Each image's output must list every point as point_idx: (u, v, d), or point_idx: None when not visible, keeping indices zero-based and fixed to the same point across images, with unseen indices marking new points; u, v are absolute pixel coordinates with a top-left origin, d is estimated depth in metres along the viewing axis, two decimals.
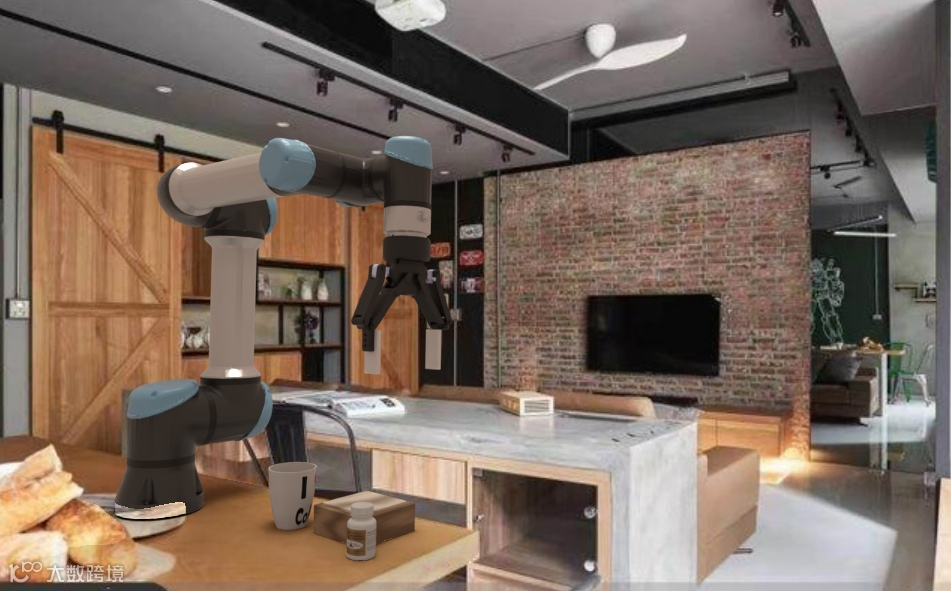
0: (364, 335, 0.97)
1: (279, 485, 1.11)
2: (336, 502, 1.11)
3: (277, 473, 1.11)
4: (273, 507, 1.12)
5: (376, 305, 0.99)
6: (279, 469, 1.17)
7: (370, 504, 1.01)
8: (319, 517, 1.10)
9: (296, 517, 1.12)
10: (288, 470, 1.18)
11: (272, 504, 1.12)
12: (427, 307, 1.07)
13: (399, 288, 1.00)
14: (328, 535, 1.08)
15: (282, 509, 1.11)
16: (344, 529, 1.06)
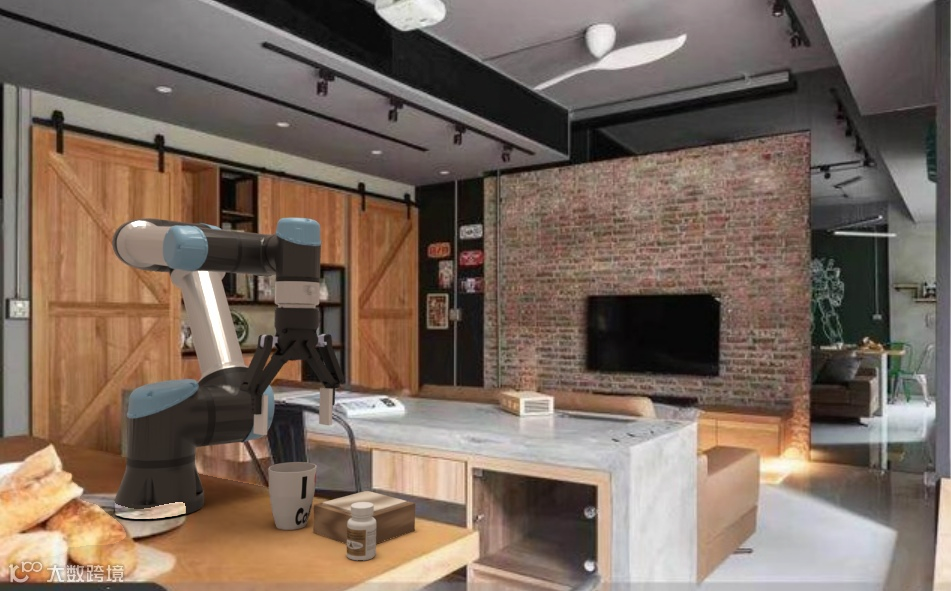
0: (252, 400, 1.08)
1: (279, 485, 1.11)
2: (336, 502, 1.11)
3: (277, 473, 1.11)
4: (273, 507, 1.12)
5: (265, 371, 1.10)
6: (279, 469, 1.17)
7: (370, 504, 1.01)
8: (319, 517, 1.10)
9: (296, 517, 1.12)
10: (288, 470, 1.18)
11: (272, 504, 1.12)
12: (318, 369, 1.18)
13: (286, 355, 1.11)
14: (328, 535, 1.08)
15: (282, 509, 1.11)
16: (344, 529, 1.06)
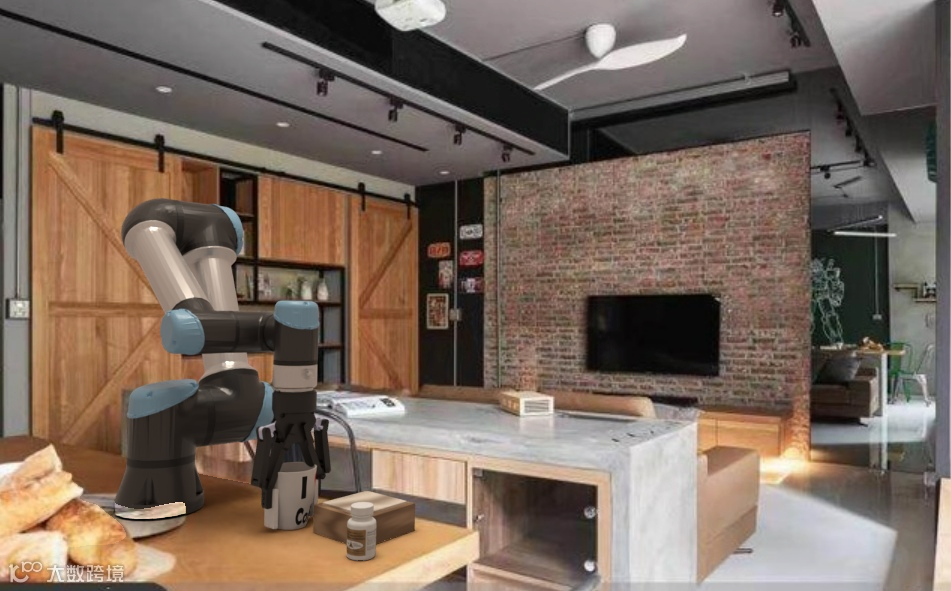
0: (263, 494, 1.10)
1: (279, 485, 1.11)
2: (336, 502, 1.11)
3: None
4: None
5: (270, 463, 1.11)
6: None
7: (370, 504, 1.01)
8: (319, 517, 1.10)
9: (296, 517, 1.12)
10: (288, 470, 1.18)
11: None
12: (309, 454, 1.16)
13: (287, 443, 1.12)
14: (328, 535, 1.08)
15: (282, 509, 1.11)
16: (344, 529, 1.06)
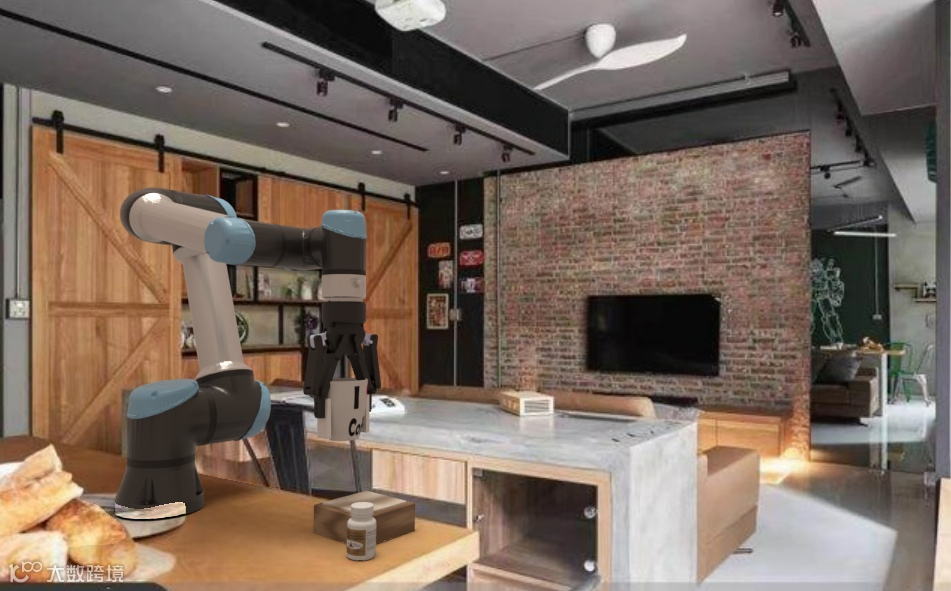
0: (315, 403, 1.08)
1: (331, 395, 1.09)
2: (336, 502, 1.11)
3: None
4: None
5: (322, 373, 1.10)
6: None
7: (370, 504, 1.01)
8: (319, 517, 1.10)
9: (349, 428, 1.10)
10: None
11: None
12: (359, 368, 1.14)
13: (338, 353, 1.10)
14: (328, 535, 1.08)
15: (334, 419, 1.09)
16: (344, 529, 1.06)
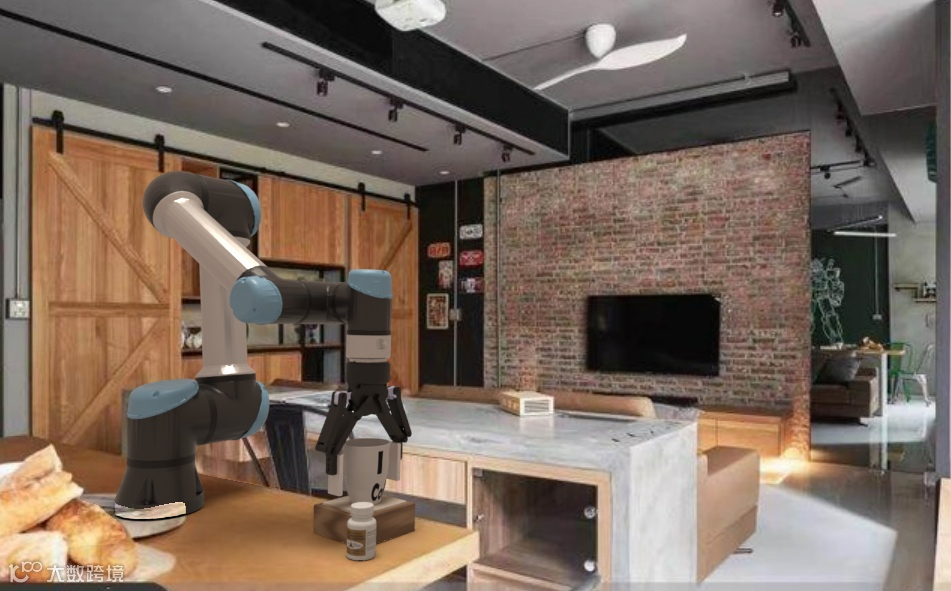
0: (327, 460, 1.06)
1: (355, 460, 1.08)
2: (336, 502, 1.11)
3: (353, 447, 1.08)
4: (348, 483, 1.09)
5: (339, 429, 1.08)
6: (351, 445, 1.14)
7: (370, 504, 1.01)
8: (319, 517, 1.10)
9: (372, 493, 1.09)
10: (359, 446, 1.15)
11: (347, 480, 1.10)
12: (388, 423, 1.15)
13: (360, 412, 1.09)
14: (328, 535, 1.08)
15: (358, 484, 1.09)
16: (344, 529, 1.06)
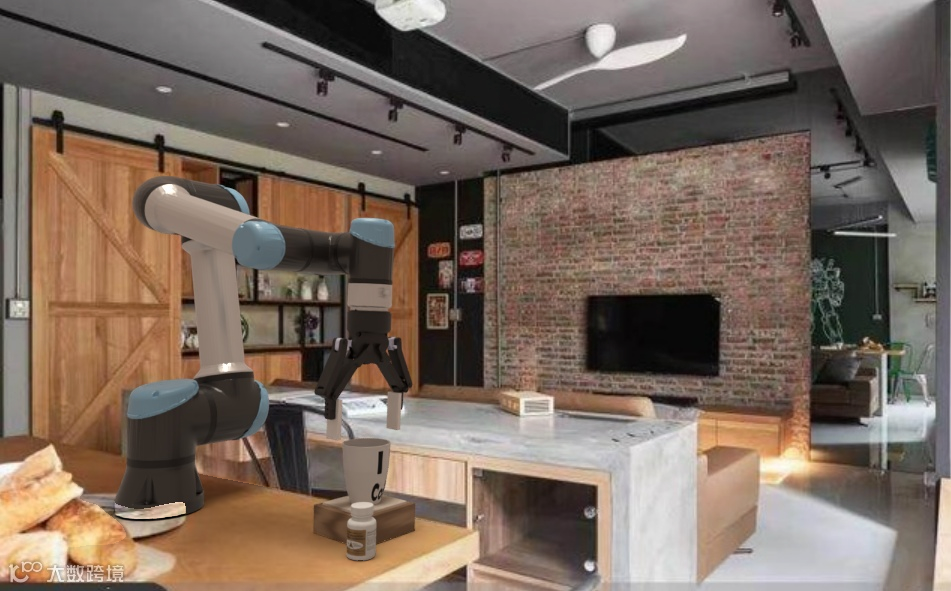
0: (326, 404, 1.06)
1: (355, 460, 1.08)
2: (336, 502, 1.11)
3: (353, 447, 1.08)
4: (348, 483, 1.09)
5: (338, 375, 1.08)
6: (351, 445, 1.14)
7: (370, 504, 1.01)
8: (319, 517, 1.10)
9: (372, 493, 1.09)
10: (359, 446, 1.15)
11: (347, 480, 1.10)
12: (388, 372, 1.16)
13: (360, 359, 1.09)
14: (328, 535, 1.08)
15: (358, 484, 1.09)
16: (344, 529, 1.06)
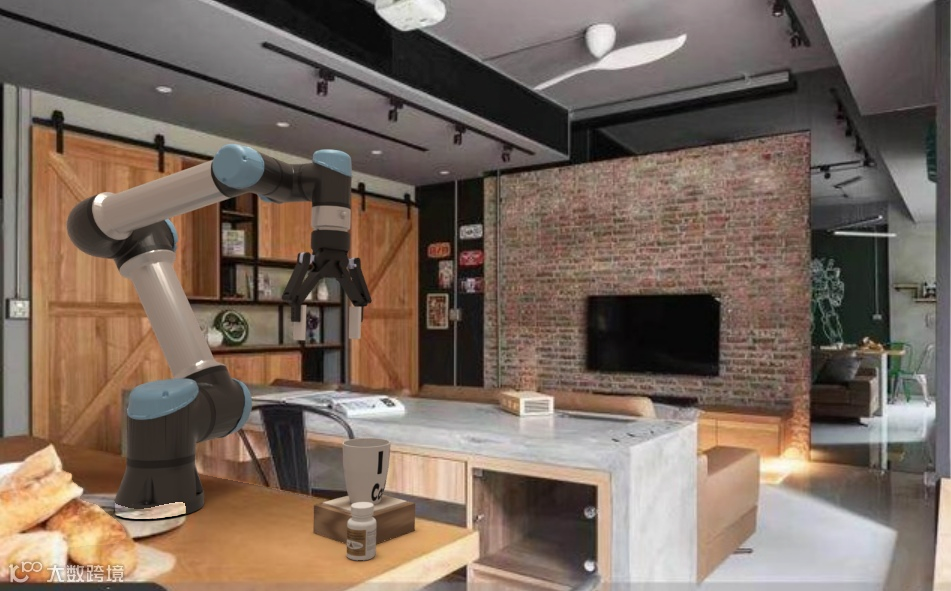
0: (292, 309, 1.22)
1: (355, 460, 1.08)
2: (336, 502, 1.11)
3: (353, 447, 1.08)
4: (348, 483, 1.09)
5: (303, 285, 1.24)
6: (351, 445, 1.14)
7: (370, 504, 1.01)
8: (319, 517, 1.10)
9: (372, 493, 1.09)
10: (359, 446, 1.15)
11: (347, 480, 1.10)
12: (349, 287, 1.32)
13: (322, 272, 1.25)
14: (328, 535, 1.08)
15: (358, 484, 1.09)
16: (344, 529, 1.06)
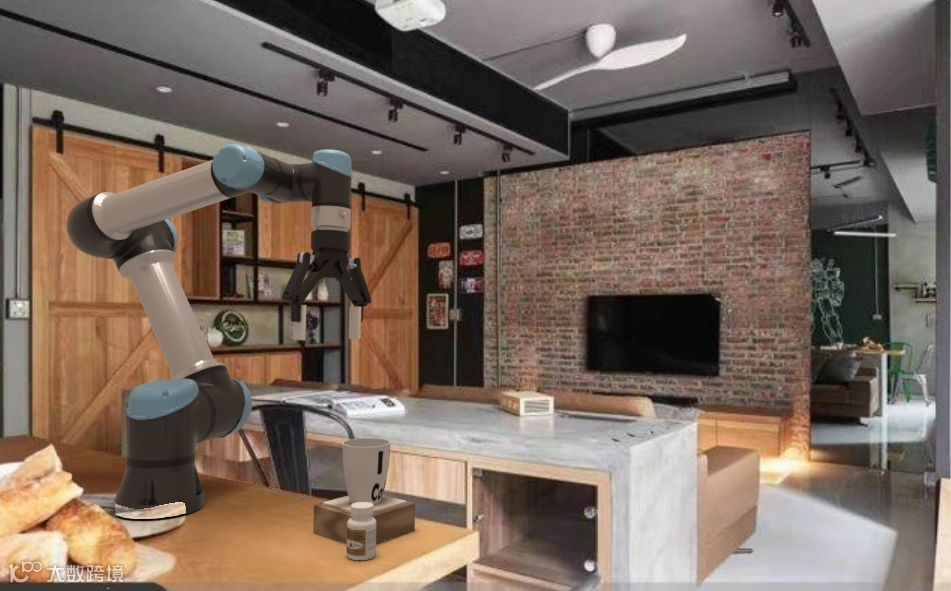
0: (292, 309, 1.22)
1: (355, 460, 1.08)
2: (336, 502, 1.11)
3: (353, 447, 1.08)
4: (348, 483, 1.09)
5: (303, 285, 1.24)
6: (351, 445, 1.14)
7: (370, 504, 1.01)
8: (319, 517, 1.10)
9: (372, 493, 1.09)
10: (359, 446, 1.15)
11: (347, 480, 1.10)
12: (349, 287, 1.32)
13: (322, 272, 1.25)
14: (328, 535, 1.08)
15: (358, 484, 1.09)
16: (344, 529, 1.06)
